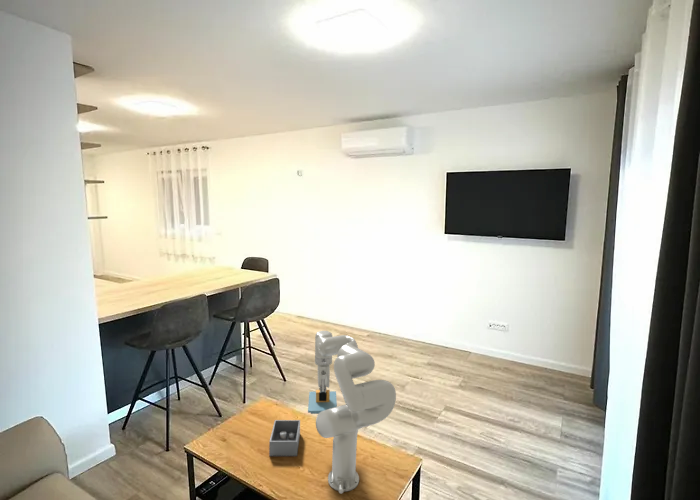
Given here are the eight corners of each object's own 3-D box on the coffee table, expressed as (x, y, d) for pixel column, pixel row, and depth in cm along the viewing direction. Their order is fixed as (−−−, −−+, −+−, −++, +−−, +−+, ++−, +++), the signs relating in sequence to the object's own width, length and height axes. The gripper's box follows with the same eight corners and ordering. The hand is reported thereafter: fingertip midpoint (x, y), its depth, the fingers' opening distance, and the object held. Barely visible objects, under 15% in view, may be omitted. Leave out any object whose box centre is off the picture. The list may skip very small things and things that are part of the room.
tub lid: (337, 414, 162) (337, 400, 161) (307, 415, 161) (308, 400, 160) (335, 395, 178) (336, 382, 177) (309, 395, 177) (309, 382, 176)
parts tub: (296, 456, 166) (297, 441, 165) (269, 456, 166) (269, 441, 165) (299, 433, 182) (300, 420, 181) (274, 433, 181) (274, 420, 180)
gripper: (332, 367, 159) (331, 408, 161) (331, 352, 175) (330, 389, 177) (314, 367, 159) (313, 408, 161) (315, 352, 175) (314, 389, 177)
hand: (322, 398), depth 169 cm, fingers closed on tub lid
